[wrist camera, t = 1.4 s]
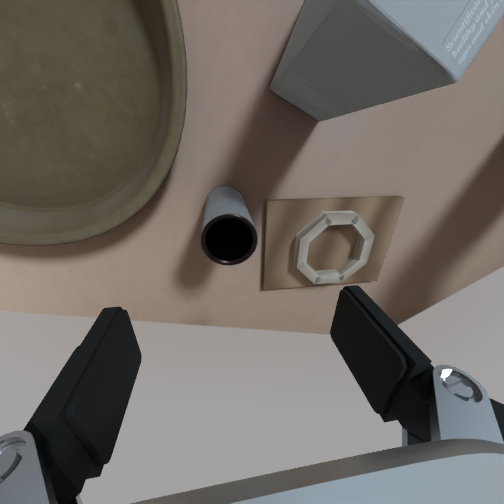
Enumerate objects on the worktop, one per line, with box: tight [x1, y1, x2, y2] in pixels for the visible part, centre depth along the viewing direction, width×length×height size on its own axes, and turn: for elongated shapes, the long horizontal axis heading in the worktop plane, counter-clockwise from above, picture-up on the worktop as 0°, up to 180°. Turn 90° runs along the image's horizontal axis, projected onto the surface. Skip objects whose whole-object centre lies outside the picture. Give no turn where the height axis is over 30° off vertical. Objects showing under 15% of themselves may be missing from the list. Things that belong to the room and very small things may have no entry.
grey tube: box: [201, 186, 258, 265], centre depth 22 cm, size 4×4×10 cm
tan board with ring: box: [263, 196, 405, 290], centre depth 30 cm, size 18×13×2 cm
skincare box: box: [270, 0, 504, 121], centre depth 14 cm, size 8×7×16 cm
